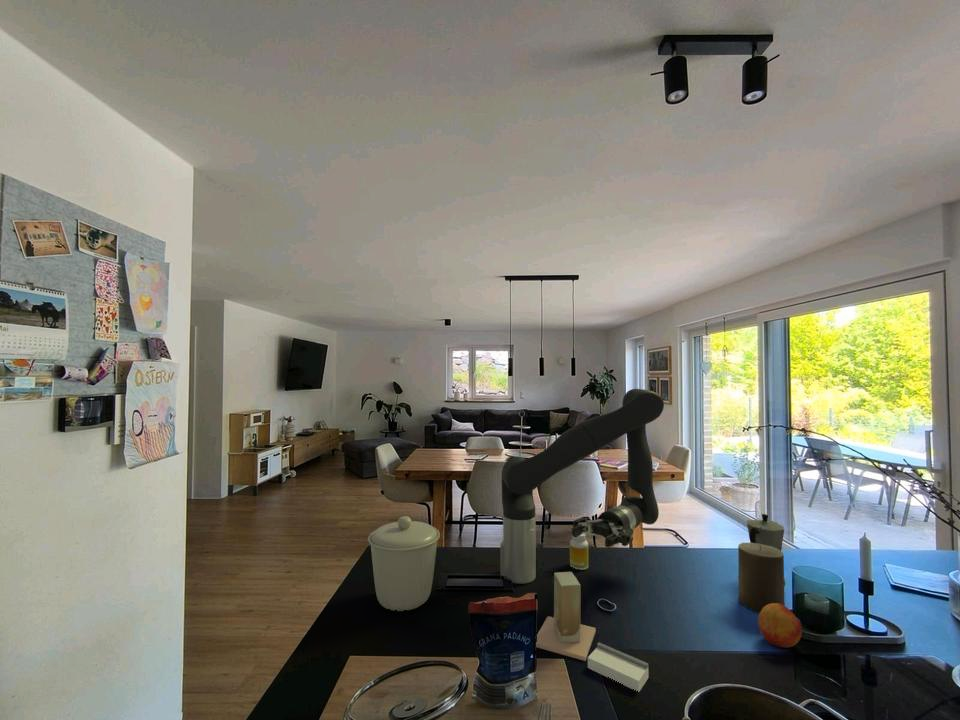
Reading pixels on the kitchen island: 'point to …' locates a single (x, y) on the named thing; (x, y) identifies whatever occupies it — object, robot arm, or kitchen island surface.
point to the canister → (403, 563)
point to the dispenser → (618, 666)
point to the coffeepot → (766, 532)
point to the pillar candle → (760, 575)
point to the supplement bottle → (579, 552)
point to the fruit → (779, 625)
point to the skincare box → (567, 607)
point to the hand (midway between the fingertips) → (589, 537)
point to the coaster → (577, 650)
